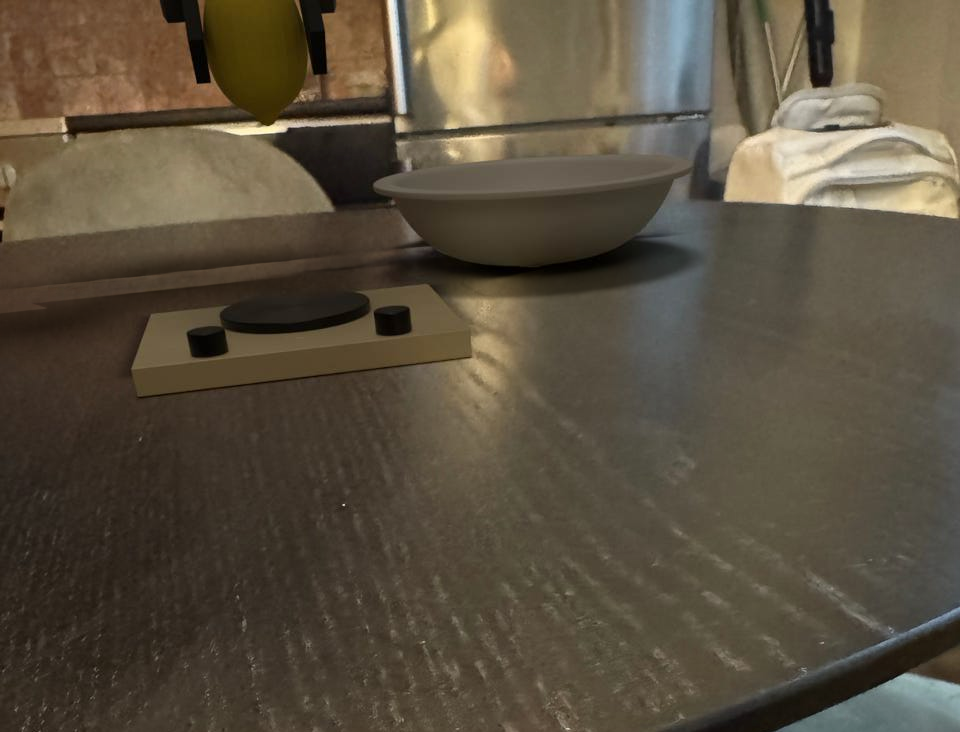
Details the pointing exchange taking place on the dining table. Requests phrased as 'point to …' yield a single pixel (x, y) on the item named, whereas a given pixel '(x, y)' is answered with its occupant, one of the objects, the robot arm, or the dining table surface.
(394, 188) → the soup bowl
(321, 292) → the cooktop
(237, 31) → the lemon
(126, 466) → the dining table surface
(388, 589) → the dining table surface
